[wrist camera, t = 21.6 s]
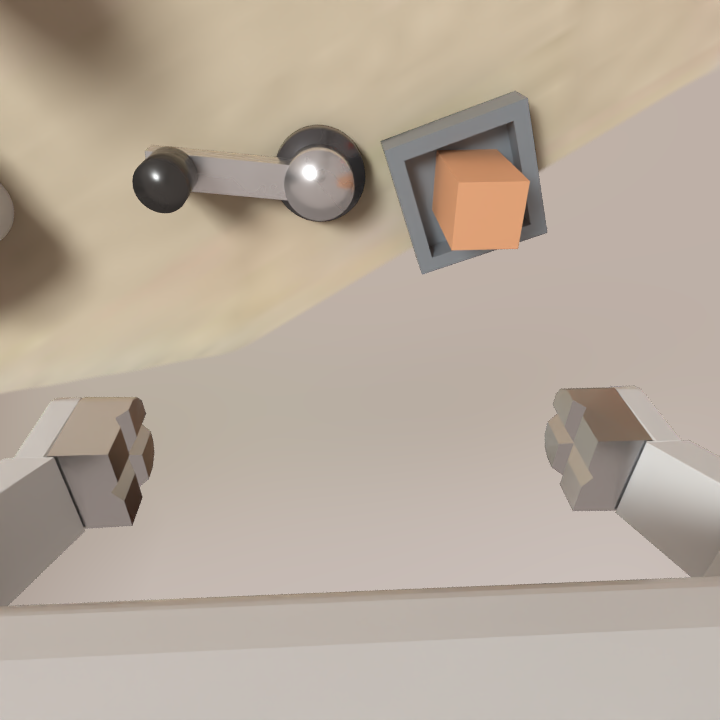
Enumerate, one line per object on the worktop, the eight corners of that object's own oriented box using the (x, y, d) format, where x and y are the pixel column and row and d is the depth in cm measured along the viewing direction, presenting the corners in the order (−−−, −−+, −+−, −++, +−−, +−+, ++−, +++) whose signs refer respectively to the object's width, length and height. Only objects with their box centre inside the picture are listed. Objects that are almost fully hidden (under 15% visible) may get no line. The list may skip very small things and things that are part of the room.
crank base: (346, 110, 34) (347, 114, 33) (375, 198, 38) (376, 204, 37) (259, 144, 35) (258, 148, 34) (295, 227, 39) (295, 233, 38)
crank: (356, 147, 34) (360, 167, 31) (349, 214, 37) (352, 240, 33) (149, 125, 33) (127, 144, 29) (156, 197, 35) (137, 222, 32)
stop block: (496, 149, 36) (529, 181, 30) (488, 208, 38) (517, 248, 32) (436, 150, 36) (458, 182, 30) (432, 209, 38) (451, 250, 32)
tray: (515, 90, 34) (527, 97, 32) (535, 219, 39) (547, 232, 37) (380, 141, 36) (384, 150, 34) (416, 259, 41) (422, 274, 39)
